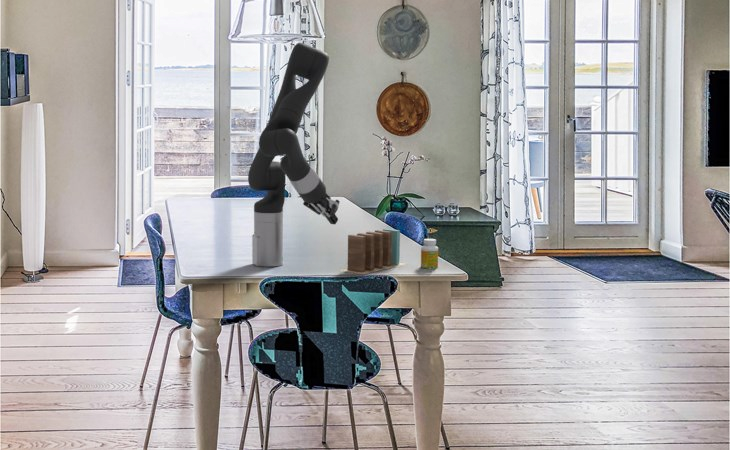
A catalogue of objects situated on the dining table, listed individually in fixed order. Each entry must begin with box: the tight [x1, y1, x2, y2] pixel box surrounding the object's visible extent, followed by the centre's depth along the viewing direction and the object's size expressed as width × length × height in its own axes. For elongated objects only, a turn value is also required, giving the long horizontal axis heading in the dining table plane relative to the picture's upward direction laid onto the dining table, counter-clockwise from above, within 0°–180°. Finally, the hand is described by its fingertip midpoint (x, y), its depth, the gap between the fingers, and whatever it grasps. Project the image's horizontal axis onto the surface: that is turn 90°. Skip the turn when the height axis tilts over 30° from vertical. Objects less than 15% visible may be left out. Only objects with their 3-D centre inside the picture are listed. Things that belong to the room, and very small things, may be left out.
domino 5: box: [382, 228, 401, 265], centre depth 275 cm, size 2×6×11 cm, turn 52°
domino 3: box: [365, 231, 383, 269], centre depth 267 cm, size 2×6×11 cm, turn 52°
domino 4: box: [374, 229, 392, 267], centre depth 271 cm, size 2×6×11 cm, turn 52°
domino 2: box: [356, 232, 375, 271], centre depth 264 cm, size 2×6×11 cm, turn 52°
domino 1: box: [347, 234, 366, 273], centre depth 260 cm, size 2×6×11 cm, turn 52°
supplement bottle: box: [420, 238, 439, 270], centre depth 269 cm, size 5×5×10 cm
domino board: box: [338, 262, 406, 275], centre depth 268 cm, size 24×9×1 cm, turn 142°
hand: (334, 221), depth 251 cm, fingers closed
